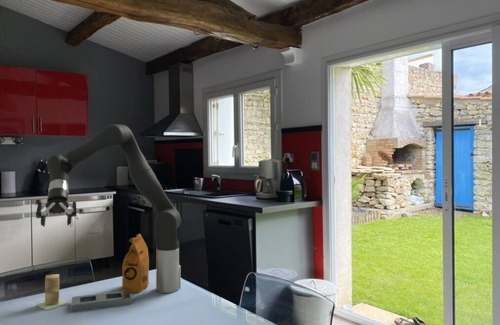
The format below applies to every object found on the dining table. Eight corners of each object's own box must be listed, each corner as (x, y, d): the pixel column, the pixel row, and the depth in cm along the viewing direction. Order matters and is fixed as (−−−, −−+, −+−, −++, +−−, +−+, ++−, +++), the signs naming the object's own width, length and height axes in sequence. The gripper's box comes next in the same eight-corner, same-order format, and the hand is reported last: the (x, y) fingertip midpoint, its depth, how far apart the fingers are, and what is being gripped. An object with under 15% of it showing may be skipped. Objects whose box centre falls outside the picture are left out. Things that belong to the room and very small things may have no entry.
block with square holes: (127, 296, 151) (127, 290, 151) (130, 304, 143) (130, 297, 143) (72, 303, 144) (72, 296, 144) (71, 312, 135) (71, 305, 135)
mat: (57, 299, 148) (57, 297, 148) (68, 304, 143) (68, 302, 143) (35, 305, 141) (35, 303, 141) (46, 310, 137) (46, 308, 137)
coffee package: (117, 292, 156) (118, 238, 156) (130, 283, 168) (130, 233, 168) (141, 293, 155) (141, 239, 155) (152, 284, 167) (152, 233, 167)
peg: (59, 300, 145) (59, 273, 145) (58, 304, 141) (58, 277, 141) (45, 302, 143) (46, 275, 143) (44, 306, 139) (45, 278, 139)
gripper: (38, 187, 154) (34, 219, 143) (77, 186, 159) (76, 217, 149) (39, 199, 159) (35, 231, 148) (77, 198, 164) (76, 229, 154)
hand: (56, 224), depth 149 cm, fingers open, 8 cm apart
